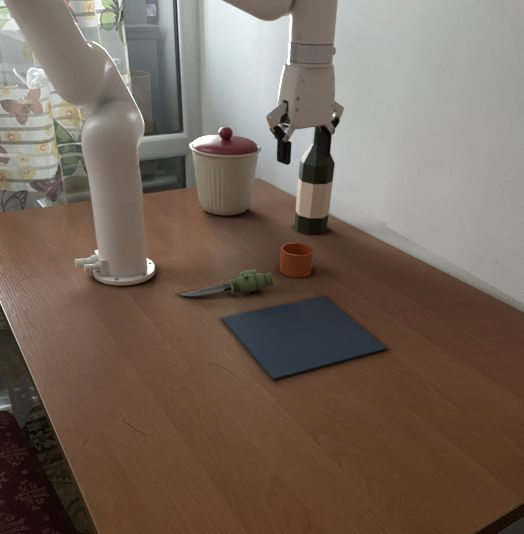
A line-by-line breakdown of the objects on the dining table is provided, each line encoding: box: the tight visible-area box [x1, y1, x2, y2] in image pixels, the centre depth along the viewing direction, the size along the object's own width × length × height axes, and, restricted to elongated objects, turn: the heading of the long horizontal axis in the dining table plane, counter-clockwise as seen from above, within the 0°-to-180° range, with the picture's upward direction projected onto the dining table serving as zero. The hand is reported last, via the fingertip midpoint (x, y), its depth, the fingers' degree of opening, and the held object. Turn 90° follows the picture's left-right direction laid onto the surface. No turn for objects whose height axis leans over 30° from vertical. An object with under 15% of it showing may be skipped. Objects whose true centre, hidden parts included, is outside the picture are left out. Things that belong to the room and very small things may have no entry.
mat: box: [221, 296, 387, 381], centre depth 97 cm, size 22×20×1 cm
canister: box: [189, 126, 262, 216], centre depth 142 cm, size 18×18×21 cm
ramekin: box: [279, 242, 315, 278], centre depth 117 cm, size 7×7×5 cm
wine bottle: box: [293, 127, 336, 235], centre depth 131 cm, size 8×8×30 cm
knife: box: [179, 268, 274, 298], centre depth 107 cm, size 4×18×5 cm
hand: (303, 159), depth 102 cm, fingers open, 9 cm apart
